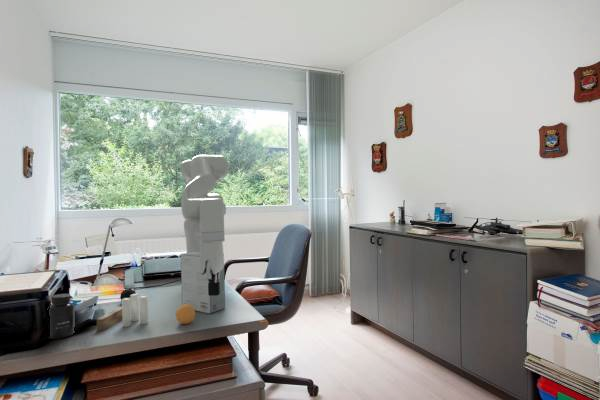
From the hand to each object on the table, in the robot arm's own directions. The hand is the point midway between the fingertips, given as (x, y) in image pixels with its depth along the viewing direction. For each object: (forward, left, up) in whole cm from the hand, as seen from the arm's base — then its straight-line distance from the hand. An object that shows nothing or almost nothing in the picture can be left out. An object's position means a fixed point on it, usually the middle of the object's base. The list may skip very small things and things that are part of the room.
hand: (214, 294), depth 118 cm
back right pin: (-3, -28, -9) cm, 30 cm away
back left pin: (+2, -28, -9) cm, 30 cm away
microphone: (-29, -45, -10) cm, 55 cm away
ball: (0, -10, -6) cm, 12 cm away
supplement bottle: (+11, -44, -10) cm, 46 cm away
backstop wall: (0, -34, -9) cm, 35 cm away
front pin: (0, -24, -9) cm, 25 cm away
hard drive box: (-16, -10, -10) cm, 21 cm away
